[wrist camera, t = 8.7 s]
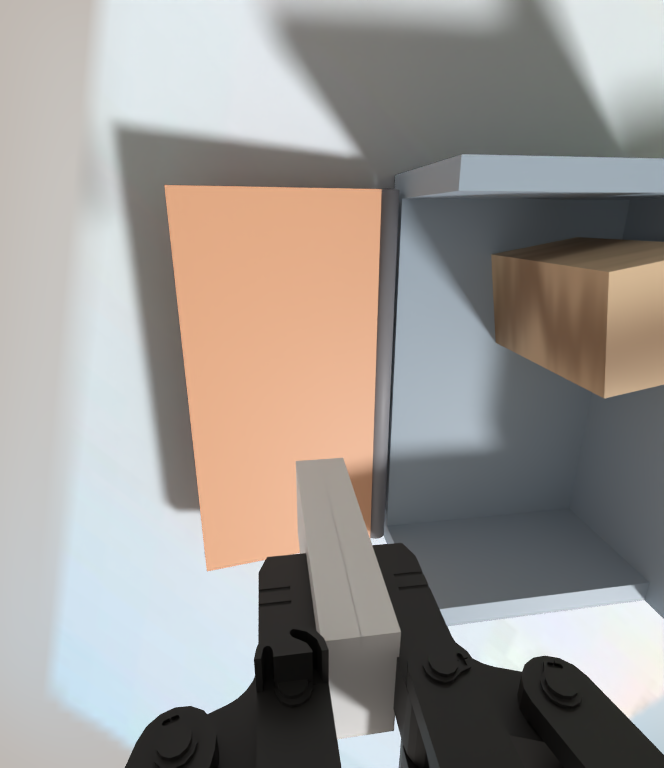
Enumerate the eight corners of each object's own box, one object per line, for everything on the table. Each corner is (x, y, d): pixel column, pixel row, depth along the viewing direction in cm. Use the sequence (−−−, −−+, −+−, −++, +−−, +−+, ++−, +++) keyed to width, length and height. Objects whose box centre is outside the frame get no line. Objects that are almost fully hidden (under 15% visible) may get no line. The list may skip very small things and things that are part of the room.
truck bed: (395, 175, 24) (503, 140, 14) (633, 178, 27) (890, 150, 16) (380, 527, 32) (444, 683, 21) (568, 508, 34) (713, 643, 23)
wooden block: (491, 254, 25) (609, 272, 17) (577, 237, 26) (734, 245, 17) (495, 342, 27) (604, 398, 19) (576, 324, 27) (717, 371, 19)
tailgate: (393, 190, 24) (165, 186, 21) (403, 189, 23) (164, 184, 20) (379, 525, 31) (206, 558, 28) (387, 536, 30) (207, 572, 27)
